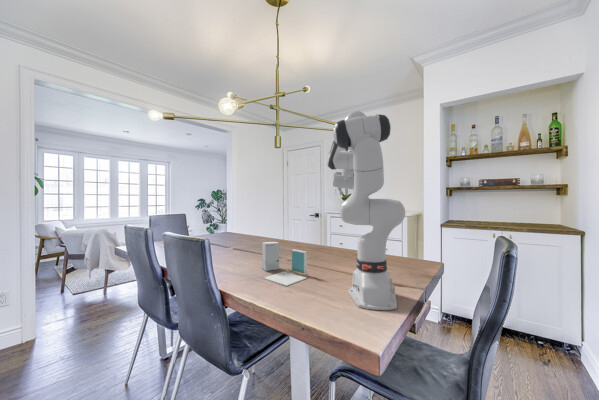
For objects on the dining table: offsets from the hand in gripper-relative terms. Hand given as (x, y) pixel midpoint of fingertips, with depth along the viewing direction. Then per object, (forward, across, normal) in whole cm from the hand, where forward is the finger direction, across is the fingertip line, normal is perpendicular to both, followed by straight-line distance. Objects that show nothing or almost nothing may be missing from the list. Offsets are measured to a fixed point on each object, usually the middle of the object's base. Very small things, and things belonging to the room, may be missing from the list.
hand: (348, 195), depth 150 cm
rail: (+34, -5, -44) cm, 56 cm away
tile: (+35, -5, -42) cm, 55 cm away
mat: (+33, -5, -52) cm, 62 cm away
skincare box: (+37, -23, -45) cm, 62 cm away
